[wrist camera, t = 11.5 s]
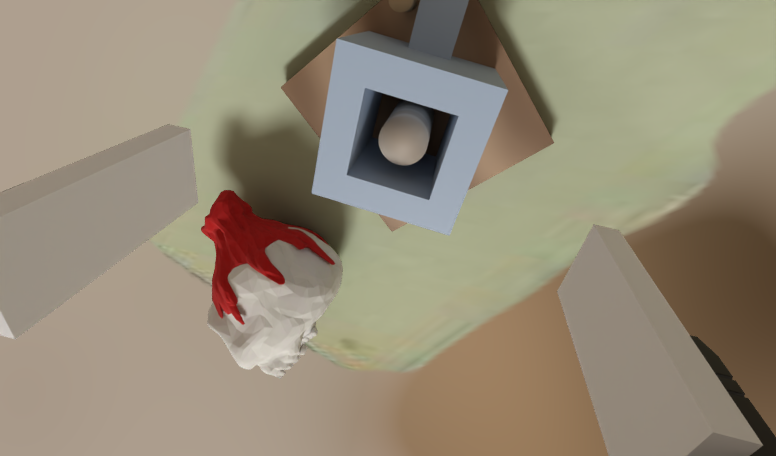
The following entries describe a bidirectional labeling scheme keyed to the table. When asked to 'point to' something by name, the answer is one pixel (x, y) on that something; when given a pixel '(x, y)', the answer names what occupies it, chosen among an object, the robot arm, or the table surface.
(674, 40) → the table surface
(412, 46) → the square nut with handle
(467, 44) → the post base
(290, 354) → the candle
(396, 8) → the dowel
